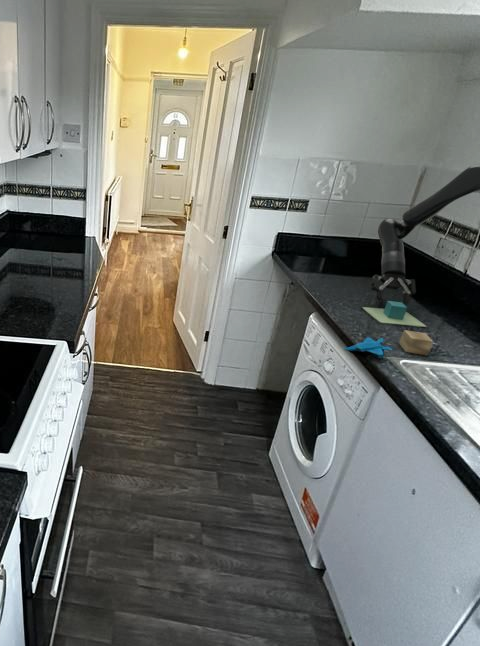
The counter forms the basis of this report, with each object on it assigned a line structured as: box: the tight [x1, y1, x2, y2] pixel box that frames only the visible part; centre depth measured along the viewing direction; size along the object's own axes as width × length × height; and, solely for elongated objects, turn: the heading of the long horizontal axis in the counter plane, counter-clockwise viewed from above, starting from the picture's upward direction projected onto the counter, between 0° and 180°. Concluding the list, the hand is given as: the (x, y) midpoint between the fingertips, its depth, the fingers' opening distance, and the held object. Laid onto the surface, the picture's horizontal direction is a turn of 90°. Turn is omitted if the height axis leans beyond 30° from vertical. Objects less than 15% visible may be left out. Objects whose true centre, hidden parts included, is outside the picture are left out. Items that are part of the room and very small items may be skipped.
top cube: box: [383, 300, 408, 320], centre depth 155 cm, size 5×5×5 cm
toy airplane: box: [343, 337, 394, 360], centre depth 127 cm, size 12×10×4 cm
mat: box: [361, 306, 428, 328], centre depth 156 cm, size 16×14×1 cm
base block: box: [398, 329, 434, 356], centre depth 132 cm, size 6×6×5 cm
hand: (393, 302), depth 157 cm, fingers open, 8 cm apart
